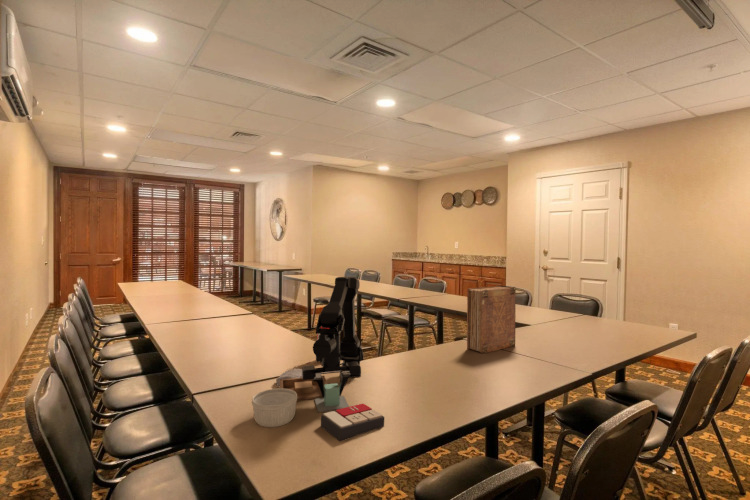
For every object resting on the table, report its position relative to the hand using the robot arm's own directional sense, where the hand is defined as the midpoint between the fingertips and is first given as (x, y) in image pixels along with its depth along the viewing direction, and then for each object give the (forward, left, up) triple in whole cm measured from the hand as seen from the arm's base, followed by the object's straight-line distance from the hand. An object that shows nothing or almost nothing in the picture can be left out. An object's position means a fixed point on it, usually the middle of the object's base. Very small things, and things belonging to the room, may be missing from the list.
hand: (331, 396), depth 128 cm
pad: (0, 0, -3) cm, 3 cm away
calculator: (-4, +17, -3) cm, 17 cm away
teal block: (0, 0, -2) cm, 2 cm away
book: (-88, -47, -3) cm, 99 cm away
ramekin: (+18, +6, -3) cm, 19 cm away
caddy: (+8, -12, -3) cm, 15 cm away
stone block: (+11, -25, -3) cm, 28 cm away
